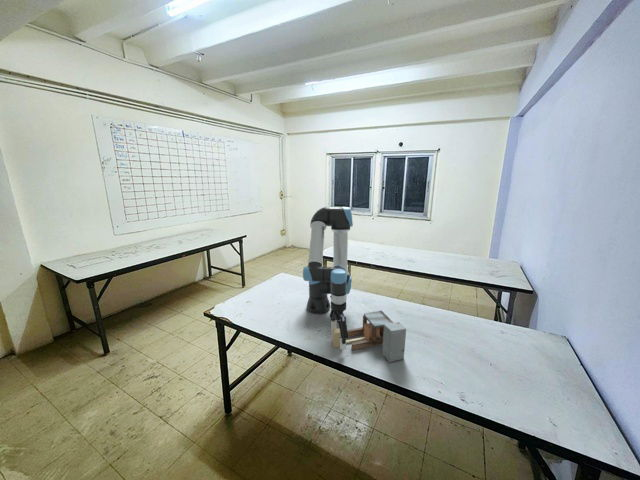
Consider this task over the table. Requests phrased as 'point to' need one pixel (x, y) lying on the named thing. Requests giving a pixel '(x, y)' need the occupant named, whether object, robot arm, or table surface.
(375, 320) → the shelf lane
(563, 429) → the table surface
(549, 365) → the table surface
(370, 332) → the tether block
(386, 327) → the skincare box
